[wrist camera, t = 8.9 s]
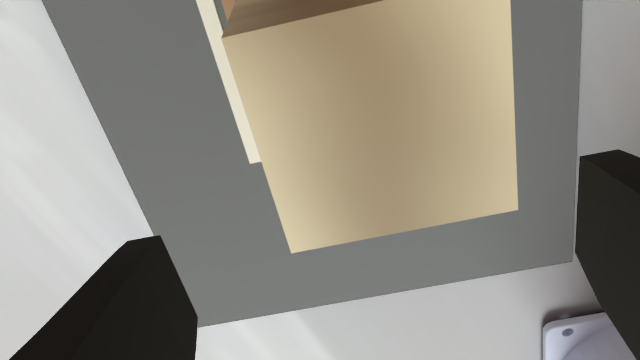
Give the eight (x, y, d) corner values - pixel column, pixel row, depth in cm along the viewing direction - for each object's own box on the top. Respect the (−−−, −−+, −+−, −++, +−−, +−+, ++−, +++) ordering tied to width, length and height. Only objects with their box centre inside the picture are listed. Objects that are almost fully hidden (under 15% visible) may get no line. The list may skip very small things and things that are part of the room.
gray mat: (583, -407, 13) (600, -422, 12) (564, 249, 23) (573, 263, 23) (-51, -228, 14) (-71, -231, 13) (201, 313, 25) (197, 329, 24)
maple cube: (444, -74, 12) (509, -30, 8) (461, 109, 14) (518, 209, 11) (245, -25, 13) (220, 38, 9) (293, 145, 15) (291, 253, 11)
